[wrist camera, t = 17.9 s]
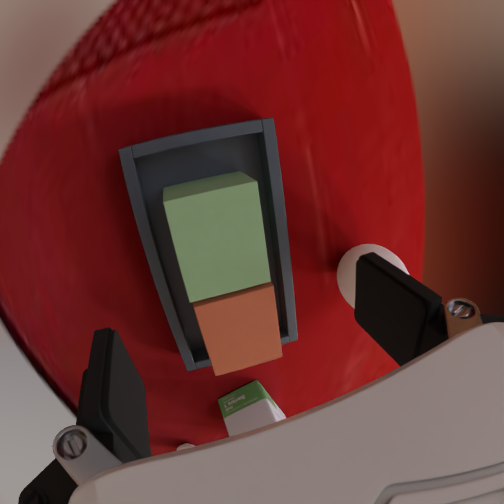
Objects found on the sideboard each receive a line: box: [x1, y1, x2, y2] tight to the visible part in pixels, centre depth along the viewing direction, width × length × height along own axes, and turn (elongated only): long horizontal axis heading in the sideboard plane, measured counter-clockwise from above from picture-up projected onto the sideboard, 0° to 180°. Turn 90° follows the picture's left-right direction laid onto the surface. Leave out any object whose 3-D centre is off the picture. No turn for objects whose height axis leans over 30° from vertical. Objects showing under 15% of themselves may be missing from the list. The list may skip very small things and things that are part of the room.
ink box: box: [218, 380, 286, 437], centre depth 26 cm, size 9×5×12 cm, turn 24°
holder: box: [118, 118, 298, 371], centre depth 22 cm, size 10×18×2 cm, turn 8°
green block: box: [163, 171, 271, 303], centre depth 19 cm, size 5×6×4 cm
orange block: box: [192, 282, 282, 376], centre depth 22 cm, size 5×6×4 cm
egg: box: [337, 244, 409, 309], centre depth 23 cm, size 5×5×8 cm
